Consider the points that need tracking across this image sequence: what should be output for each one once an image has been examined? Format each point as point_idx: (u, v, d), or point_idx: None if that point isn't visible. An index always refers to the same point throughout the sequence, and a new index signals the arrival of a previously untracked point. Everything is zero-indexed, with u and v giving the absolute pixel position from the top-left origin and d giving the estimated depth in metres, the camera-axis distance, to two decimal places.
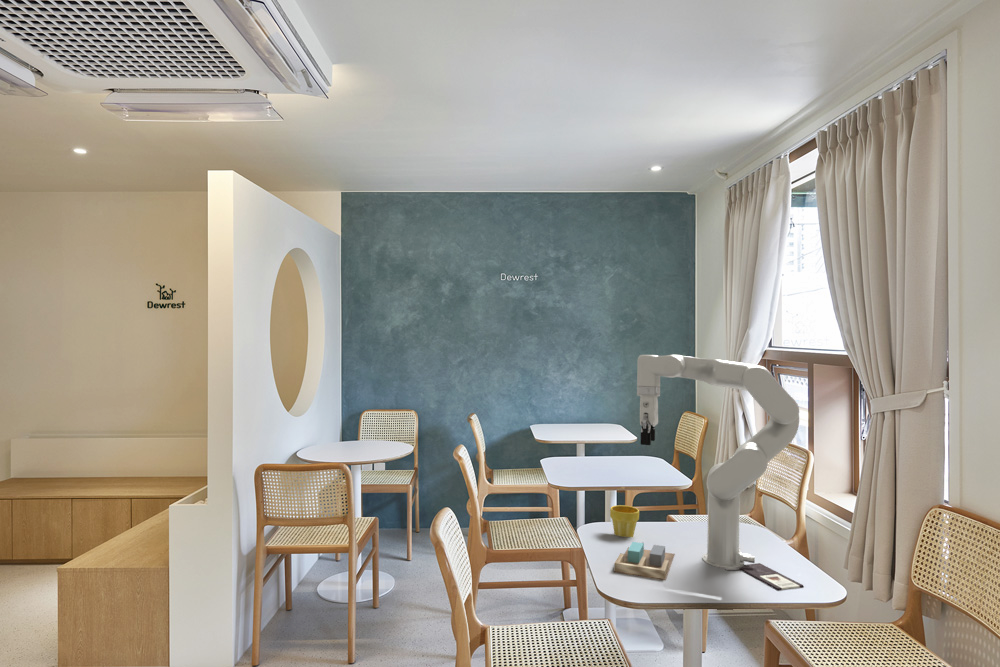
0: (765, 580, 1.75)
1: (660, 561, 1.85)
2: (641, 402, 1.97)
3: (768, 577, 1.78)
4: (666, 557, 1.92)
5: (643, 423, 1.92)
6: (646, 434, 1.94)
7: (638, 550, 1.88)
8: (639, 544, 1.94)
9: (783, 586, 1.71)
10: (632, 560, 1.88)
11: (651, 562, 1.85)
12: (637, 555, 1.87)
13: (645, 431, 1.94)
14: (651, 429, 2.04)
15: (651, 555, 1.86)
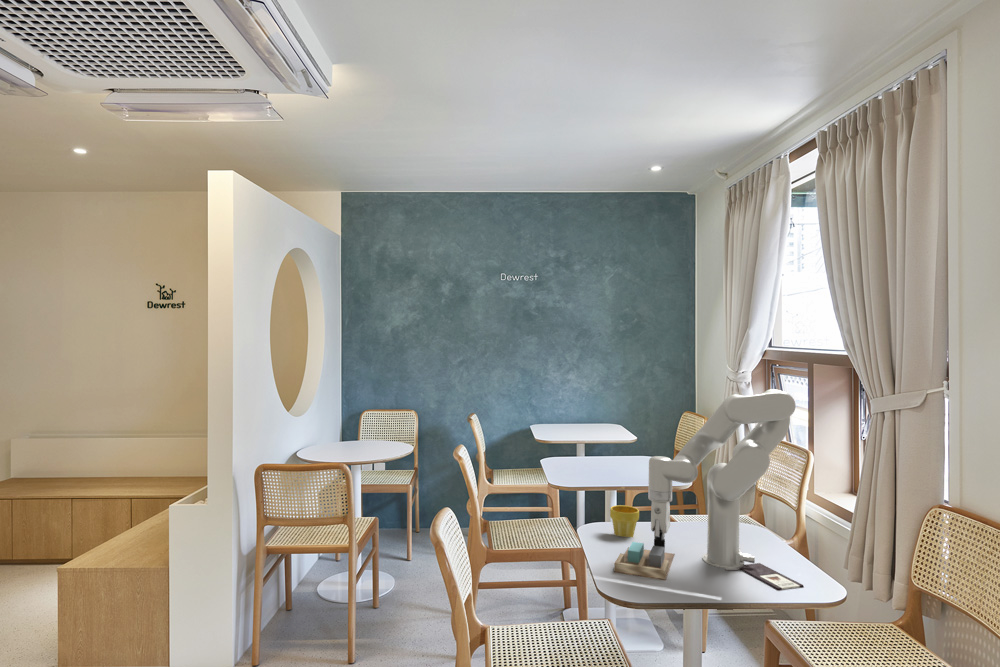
0: (765, 580, 1.76)
1: (659, 562, 1.84)
2: (652, 508, 1.91)
3: (768, 577, 1.78)
4: (666, 557, 1.92)
5: (656, 537, 1.91)
6: (659, 542, 1.93)
7: (638, 550, 1.88)
8: (639, 544, 1.94)
9: (783, 586, 1.71)
10: (632, 560, 1.88)
11: (650, 563, 1.85)
12: (637, 555, 1.87)
13: (658, 539, 1.93)
14: None
15: (650, 556, 1.85)
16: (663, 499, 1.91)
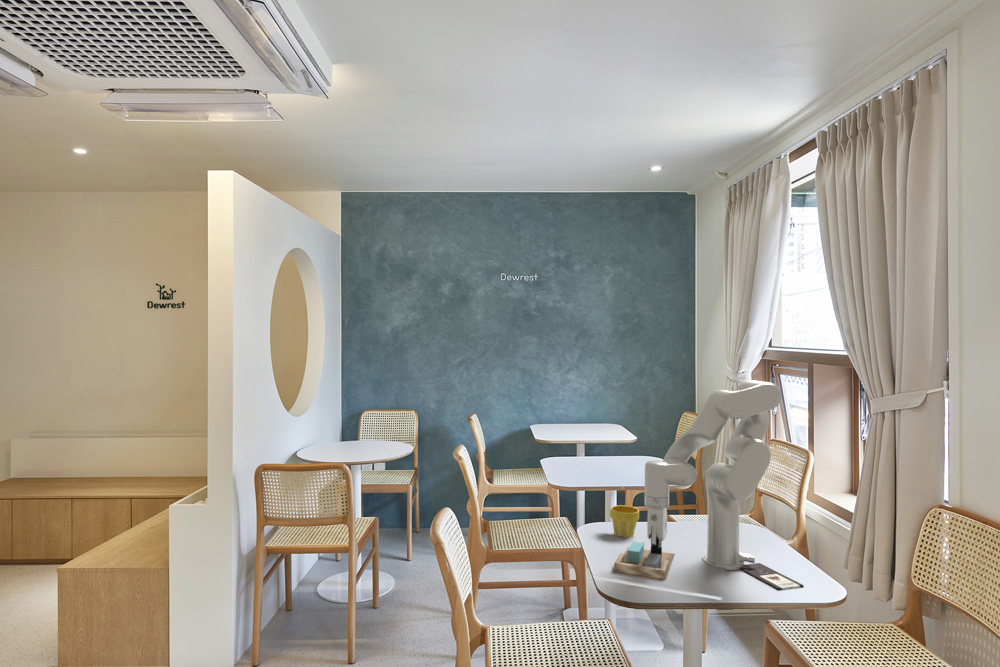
0: (765, 580, 1.76)
1: None
2: (649, 514, 1.84)
3: (768, 577, 1.78)
4: (666, 557, 1.92)
5: (653, 544, 1.83)
6: (656, 549, 1.86)
7: (638, 550, 1.88)
8: (639, 544, 1.94)
9: (783, 586, 1.71)
10: (632, 560, 1.88)
11: None
12: (637, 555, 1.87)
13: (655, 546, 1.85)
14: None
15: (645, 564, 1.78)
16: (660, 505, 1.84)
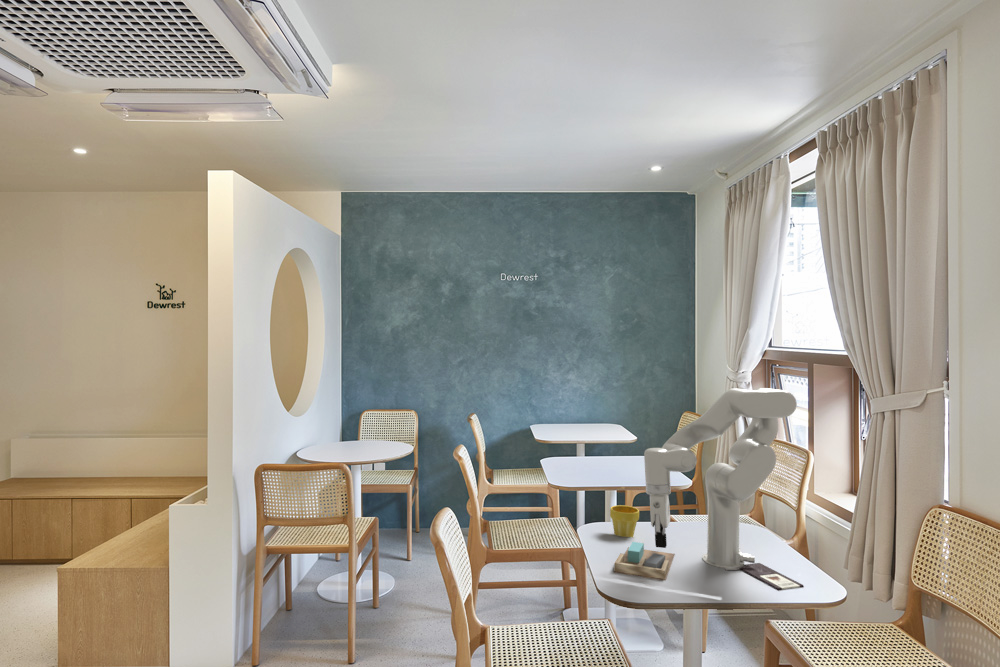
0: (765, 580, 1.76)
1: None
2: (651, 502, 1.84)
3: (768, 577, 1.78)
4: (666, 557, 1.92)
5: (657, 532, 1.83)
6: (661, 536, 1.85)
7: (638, 550, 1.88)
8: (639, 544, 1.94)
9: (783, 586, 1.71)
10: (632, 560, 1.88)
11: None
12: (637, 555, 1.87)
13: (659, 534, 1.85)
14: None
15: (646, 563, 1.78)
16: (661, 492, 1.83)
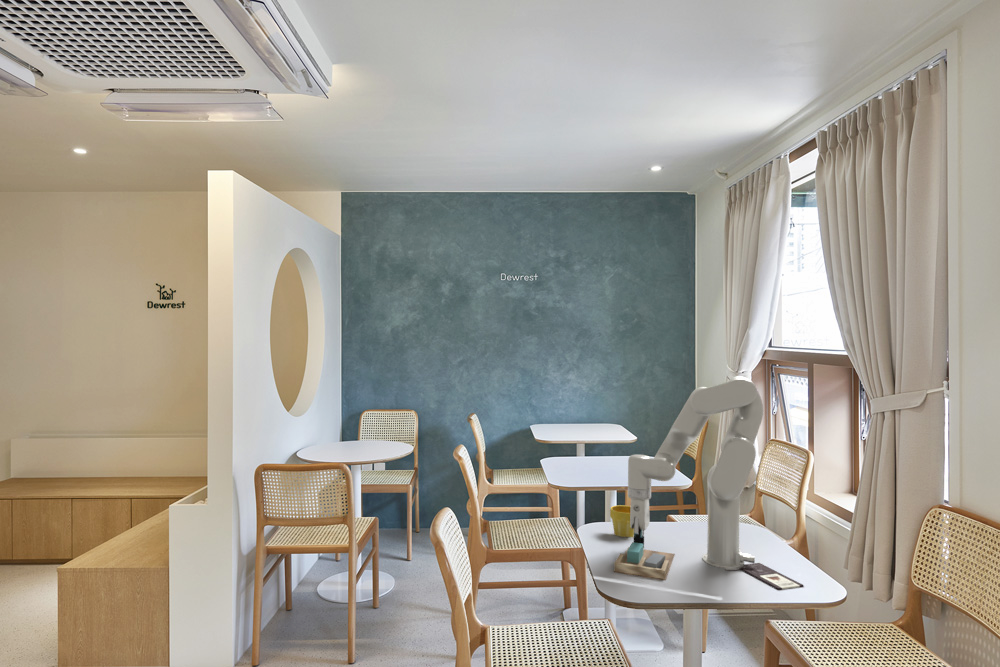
0: (765, 580, 1.76)
1: None
2: (631, 505, 1.94)
3: (768, 577, 1.78)
4: (666, 557, 1.92)
5: (635, 534, 1.93)
6: (639, 539, 1.96)
7: (637, 550, 1.88)
8: (639, 544, 1.94)
9: (783, 586, 1.71)
10: (631, 560, 1.87)
11: None
12: (636, 555, 1.87)
13: (638, 536, 1.96)
14: None
15: (646, 563, 1.78)
16: (642, 497, 1.94)
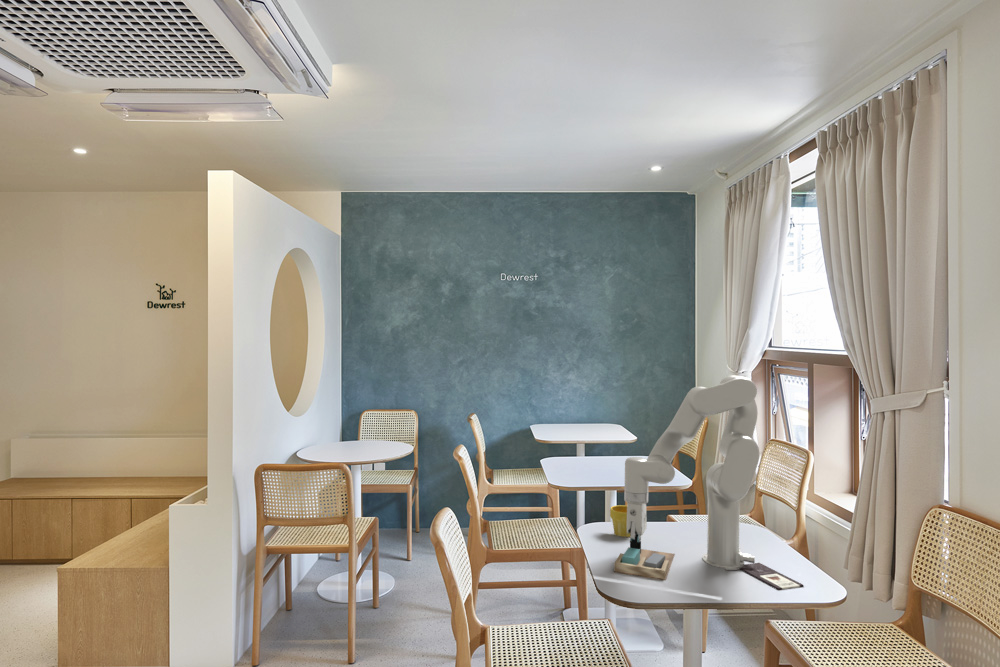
0: (765, 580, 1.76)
1: None
2: (628, 509, 1.89)
3: (768, 577, 1.78)
4: (666, 557, 1.92)
5: (632, 539, 1.88)
6: (635, 544, 1.91)
7: (633, 556, 1.83)
8: (635, 550, 1.88)
9: (783, 586, 1.71)
10: None
11: None
12: (632, 561, 1.82)
13: (634, 541, 1.90)
14: None
15: (646, 563, 1.78)
16: (639, 501, 1.89)
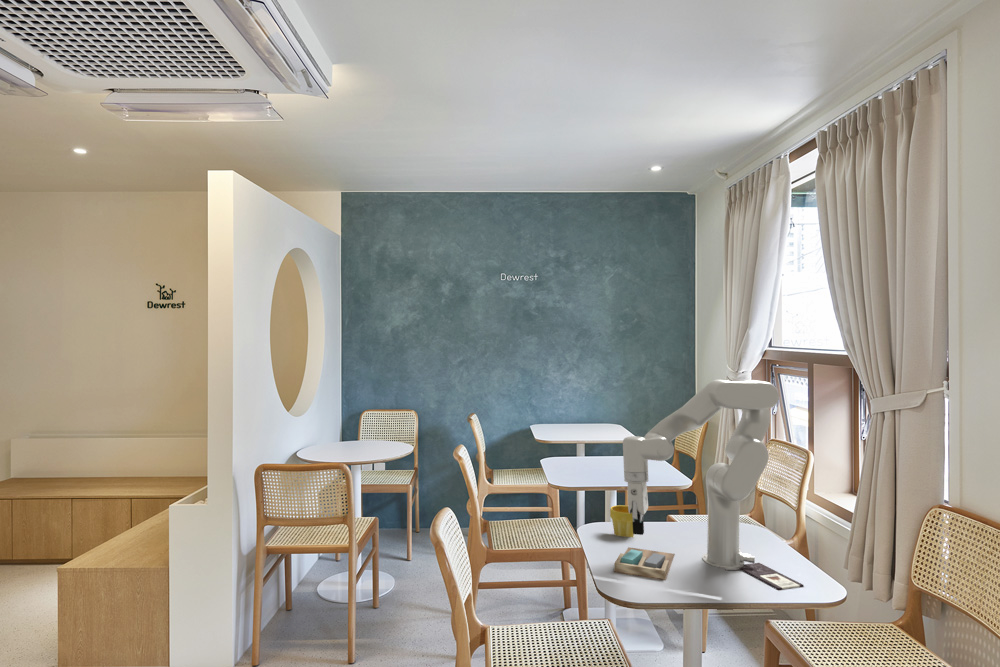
0: (765, 580, 1.76)
1: None
2: (629, 489, 1.86)
3: (768, 577, 1.78)
4: (666, 557, 1.92)
5: (634, 519, 1.86)
6: (638, 524, 1.88)
7: (632, 558, 1.81)
8: (637, 552, 1.87)
9: (783, 586, 1.71)
10: None
11: None
12: (630, 563, 1.80)
13: (637, 521, 1.88)
14: None
15: (646, 563, 1.78)
16: (639, 480, 1.86)
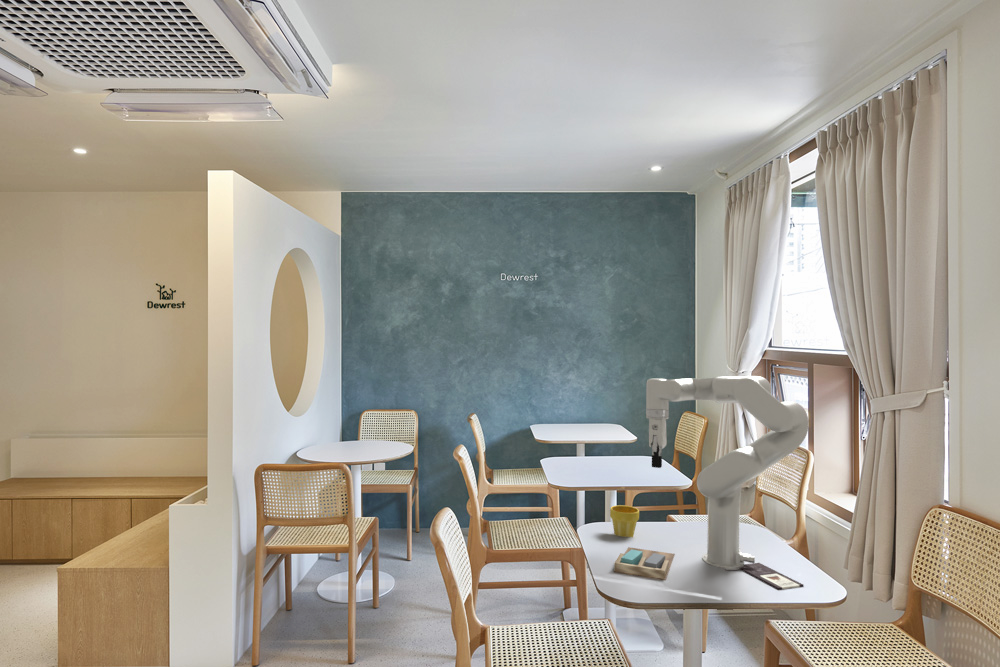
0: (765, 580, 1.76)
1: None
2: (650, 425, 2.03)
3: (768, 577, 1.78)
4: (666, 557, 1.92)
5: (654, 452, 2.02)
6: (657, 457, 2.05)
7: (632, 558, 1.81)
8: (637, 552, 1.87)
9: (783, 586, 1.72)
10: None
11: None
12: (630, 563, 1.80)
13: (656, 454, 2.05)
14: None
15: (646, 563, 1.78)
16: (660, 416, 2.03)
